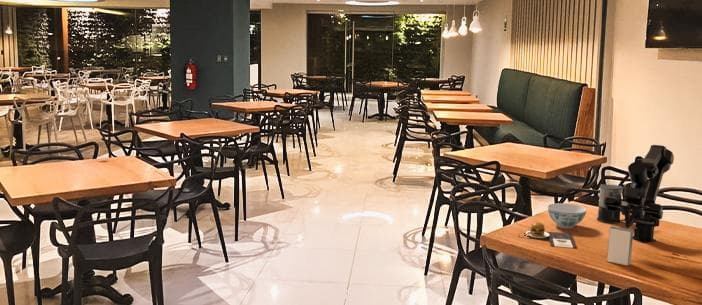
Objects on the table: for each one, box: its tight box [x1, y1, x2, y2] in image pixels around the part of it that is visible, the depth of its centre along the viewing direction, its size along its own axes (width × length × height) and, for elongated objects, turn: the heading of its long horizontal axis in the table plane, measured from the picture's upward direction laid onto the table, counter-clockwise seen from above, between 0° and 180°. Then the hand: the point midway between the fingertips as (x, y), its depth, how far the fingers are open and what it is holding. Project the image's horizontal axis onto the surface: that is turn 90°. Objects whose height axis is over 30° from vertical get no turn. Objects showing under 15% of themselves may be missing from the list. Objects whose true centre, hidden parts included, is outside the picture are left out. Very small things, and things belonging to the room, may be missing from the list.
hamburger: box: [517, 221, 550, 243], centre depth 247 cm, size 12×12×6 cm
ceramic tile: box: [606, 225, 634, 267], centre depth 216 cm, size 3×7×12 cm, turn 52°
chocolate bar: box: [547, 231, 578, 249], centre depth 241 cm, size 9×1×18 cm
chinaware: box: [547, 202, 587, 230], centre depth 259 cm, size 15×15×8 cm
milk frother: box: [596, 183, 625, 224], centre depth 267 cm, size 14×16×15 cm
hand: (626, 227), depth 221 cm, fingers closed
